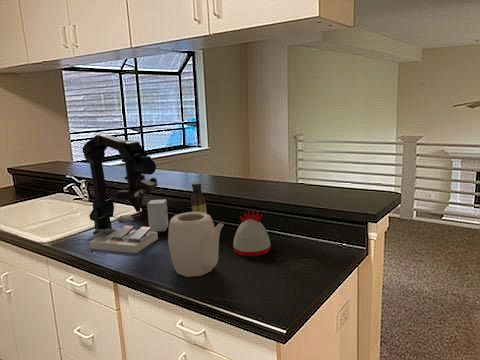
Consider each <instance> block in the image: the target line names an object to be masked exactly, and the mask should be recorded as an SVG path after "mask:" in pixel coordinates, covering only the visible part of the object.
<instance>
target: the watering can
mask: <svg viewBox="0 0 480 360" xmlns="http://www.w3.org/2000/svg"><path fill="white" fill-rule="evenodd" d="M223 227H224V223H223V222H222V223H221V222H219V223H218V224H217V225H216V226H215V224H214V221H213V218H212V217H211V215H210V214H208V213H207V214H206V213H203V212H192V211H189V212H188V211H187V212H183V213H178V214H174V216H172V217H171V218H170V219H169V222H168V234H167V237H168V238H167V245H168V248H169V249H168V250H169V253H170V259H171V263H172V265H173V267H174V269H175V272H176V273H177V274H179V275H181V276H184V277H187V278H190V277H191V278H192V277H202V276H204V275H206V274H208V273H209V272H212V271H213V268H215V266H216V265H217V264H218V262H219V250H220V248H219V245H220V244H219V243H220V235H221V231H222V229H223Z"/></svg>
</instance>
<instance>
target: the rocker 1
mask: <svg viewBox="0 0 480 360" xmlns="http://www.w3.org/2000/svg"><path fill="white" fill-rule="evenodd" d="M96 231H100V232H102V233H105V234H111V233H113V232H115V231H117V230H111V229H107V230H105V229H96Z"/></svg>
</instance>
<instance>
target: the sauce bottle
mask: <svg viewBox="0 0 480 360" xmlns="http://www.w3.org/2000/svg"><path fill="white" fill-rule="evenodd" d="M191 188H192V195H191V198H190V202H191V212H203V213H206V214H208V212H207V204H206V198H205V196H204V194H203V192H202V183H201V182H198V181H197V182H193V183H191Z"/></svg>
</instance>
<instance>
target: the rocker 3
mask: <svg viewBox="0 0 480 360" xmlns="http://www.w3.org/2000/svg"><path fill="white" fill-rule="evenodd" d="M150 230H151V227H149V226H141V227H139V229H138V231H137V232H136V233H134V234H133V235H132V236H131V237H130V238H129V239H130V240H134V241H140V239H142V238H143V237H145V236H147V233H148V232H149V231H150Z"/></svg>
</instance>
